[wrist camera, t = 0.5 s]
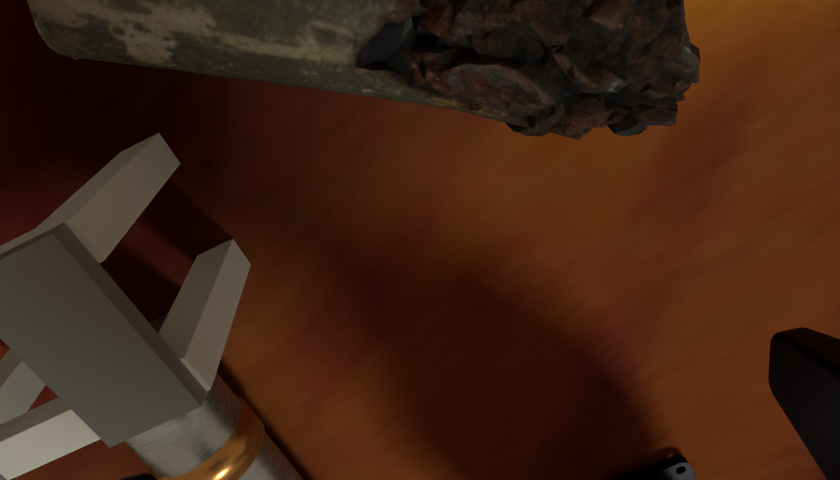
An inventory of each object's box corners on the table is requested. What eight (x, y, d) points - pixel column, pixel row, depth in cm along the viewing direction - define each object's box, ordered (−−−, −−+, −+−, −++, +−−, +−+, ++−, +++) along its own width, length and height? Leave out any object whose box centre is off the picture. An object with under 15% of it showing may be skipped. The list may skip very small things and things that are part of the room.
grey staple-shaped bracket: (251, 264, 22) (206, 404, 16) (37, 365, 23) (-93, 538, 17) (159, 132, 20) (58, 230, 13) (-76, 251, 21) (-281, 400, 14)
